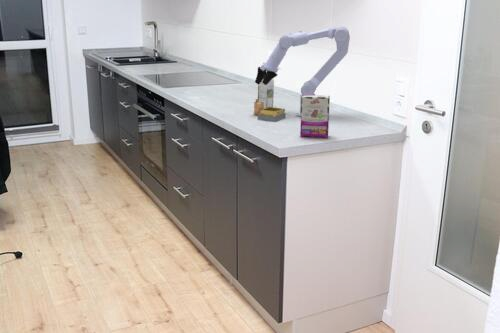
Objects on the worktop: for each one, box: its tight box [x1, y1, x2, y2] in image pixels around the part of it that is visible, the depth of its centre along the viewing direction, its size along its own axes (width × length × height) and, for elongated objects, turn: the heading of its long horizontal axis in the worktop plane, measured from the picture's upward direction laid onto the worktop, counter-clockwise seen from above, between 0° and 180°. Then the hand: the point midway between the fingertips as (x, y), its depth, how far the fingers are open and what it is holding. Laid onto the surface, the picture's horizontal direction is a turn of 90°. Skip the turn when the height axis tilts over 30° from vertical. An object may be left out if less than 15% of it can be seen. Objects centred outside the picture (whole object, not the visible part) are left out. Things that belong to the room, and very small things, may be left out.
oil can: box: [253, 98, 264, 117], centre depth 264 cm, size 5×5×7 cm
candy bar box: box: [299, 94, 331, 139], centre depth 225 cm, size 11×5×16 cm, turn 80°
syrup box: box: [257, 78, 275, 108], centre depth 280 cm, size 6×6×14 cm
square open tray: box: [257, 106, 287, 123], centre depth 257 cm, size 9×10×4 cm
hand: (260, 83), depth 265 cm, fingers open, 7 cm apart
